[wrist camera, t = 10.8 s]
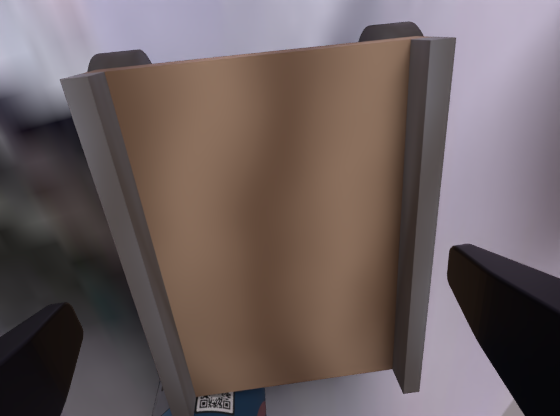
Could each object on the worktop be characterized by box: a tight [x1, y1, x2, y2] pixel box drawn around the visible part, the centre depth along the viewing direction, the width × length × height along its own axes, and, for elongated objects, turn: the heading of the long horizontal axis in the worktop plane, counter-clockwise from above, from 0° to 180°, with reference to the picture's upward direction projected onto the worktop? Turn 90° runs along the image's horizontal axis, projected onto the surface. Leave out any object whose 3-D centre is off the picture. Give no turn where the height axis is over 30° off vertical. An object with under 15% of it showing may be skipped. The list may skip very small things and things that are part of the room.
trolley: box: [60, 22, 456, 416], centre depth 18 cm, size 13×17×7 cm
